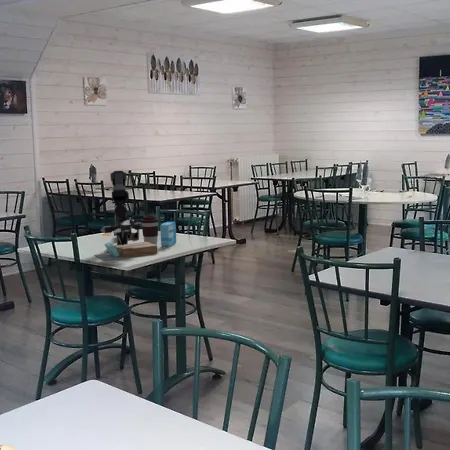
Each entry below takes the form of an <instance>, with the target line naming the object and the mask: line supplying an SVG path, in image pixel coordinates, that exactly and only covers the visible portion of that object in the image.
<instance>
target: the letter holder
mask: <svg viewBox="0 0 450 450" xmlns="http://www.w3.org/2000/svg"><path fill="white" fill-rule="evenodd" d="M129 220H132V219H131V217H129V218H128V221H129ZM136 223H138V224H139V221H137V222H136ZM127 240H128V241H138V240H140V230H136V232H132V231H131V235H127Z"/></svg>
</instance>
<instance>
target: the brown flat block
mask: <svg viewBox="0 0 450 450" xmlns="http://www.w3.org/2000/svg"><path fill="white" fill-rule="evenodd" d="M113 245H114V246H115V248H116V250H117V252H118V253H119V255H120V256H122V257H124V258H123V259H126V258H133V257H141V256H148V255H157V254H158V253H159V251H158V245H157V244H152V243H149V242H144V241H141V242H132V243H128V244H124V245H117V244H113Z"/></svg>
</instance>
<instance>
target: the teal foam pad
mask: <svg viewBox="0 0 450 450" xmlns="http://www.w3.org/2000/svg"><path fill="white" fill-rule="evenodd" d="M114 245H115V244H113V243H110V242H108V241H107V242H106V243H104V246H105V248H106V250H107V253H109V254H110V255H112V256H114V257H117V256H119V253H118V252H117V250H116V248H115V246H114Z"/></svg>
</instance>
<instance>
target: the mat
mask: <svg viewBox="0 0 450 450" xmlns="http://www.w3.org/2000/svg"><path fill="white" fill-rule="evenodd" d="M94 256H95V257H96V258H99V259H100V260H102V261H104V262H105V261H112V260H120V259H125V258H124V257H122V256H120V255H119V256H117V257H114V256H112V255H110V254H109V252H105V253H99V254H98V253H97V254H94Z"/></svg>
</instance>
